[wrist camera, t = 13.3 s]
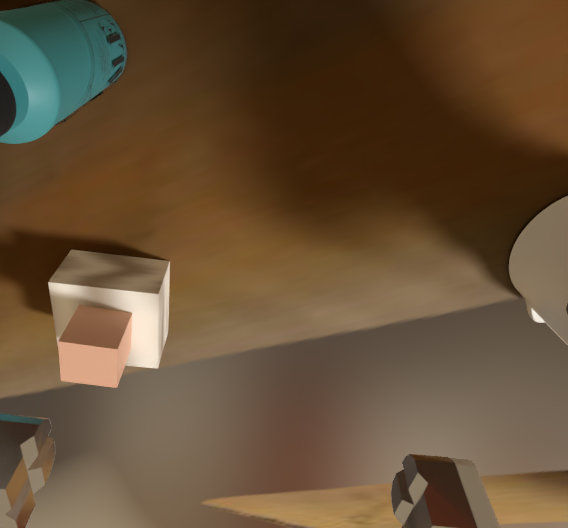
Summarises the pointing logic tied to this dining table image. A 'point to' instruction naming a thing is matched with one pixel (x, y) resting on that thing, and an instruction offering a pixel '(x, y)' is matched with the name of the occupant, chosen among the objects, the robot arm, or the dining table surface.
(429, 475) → the robot arm
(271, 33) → the dining table surface
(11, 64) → the beverage bottle
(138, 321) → the base block
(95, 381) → the terracotta block
